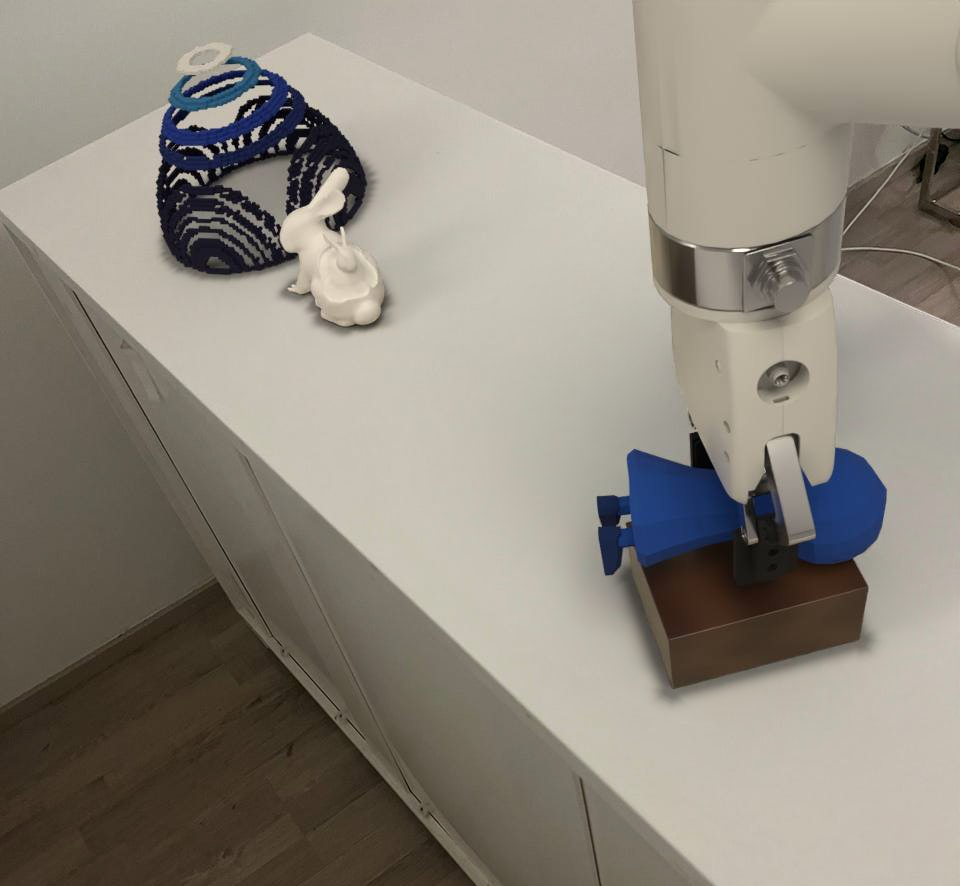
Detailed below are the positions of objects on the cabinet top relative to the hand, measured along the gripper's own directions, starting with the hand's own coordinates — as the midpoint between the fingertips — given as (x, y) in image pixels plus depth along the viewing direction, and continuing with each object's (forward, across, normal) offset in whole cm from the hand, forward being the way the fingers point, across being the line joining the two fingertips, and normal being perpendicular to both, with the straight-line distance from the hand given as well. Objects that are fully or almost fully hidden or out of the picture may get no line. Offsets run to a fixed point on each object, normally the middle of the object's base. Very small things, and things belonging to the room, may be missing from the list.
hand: (741, 523), depth 54 cm
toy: (+1, 0, 0) cm, 1 cm away
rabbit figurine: (+8, +42, +20) cm, 47 cm away
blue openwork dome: (+8, +60, +27) cm, 66 cm away
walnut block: (+7, 0, 0) cm, 7 cm away
